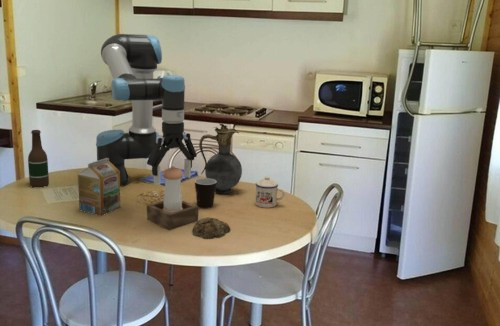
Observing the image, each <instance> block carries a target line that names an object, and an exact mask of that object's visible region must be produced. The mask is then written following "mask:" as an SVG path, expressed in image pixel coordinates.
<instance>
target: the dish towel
mask: <svg viewBox="0 0 500 326" xmlns="http://www.w3.org/2000/svg"><path fill="white" fill-rule="evenodd" d="M178 169H180V170H181V171H182V172H183V176H182V178H181V183H183V182H186V181H188V180H190V179H194V178H196V177H199V172H198V171H197V170H191V178H188V177H185V176H184V168H179V167H178ZM163 172H164V170H162V171H160V185H159V186H162V187H165V178H164V177H163ZM139 181H141V182H144V183H149V184H153V185H157V184H154V175H152V174H150V175H148V176H144V177H142V178H139ZM157 186H158V185H157Z"/></svg>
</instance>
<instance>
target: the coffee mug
mask: <svg viewBox="0 0 500 326" xmlns="http://www.w3.org/2000/svg"><path fill="white" fill-rule="evenodd" d="M216 183H217V181H216V180H214V179H209V178H206V177H205V178H204V177H202V178H201V177H200V178H198V179H195V180H194V189H195V196H196V198H195V199H196V200H195V201H196V206H198V208H199V209H200V208H201V209H210V208H213V207H214V203H215V196H216V192H215V190H216Z"/></svg>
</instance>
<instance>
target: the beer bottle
mask: <svg viewBox="0 0 500 326" xmlns="http://www.w3.org/2000/svg"><path fill="white" fill-rule="evenodd" d="M41 133H42V131H41V130H40V129H32V130H31V132H30V134H31V150H30V152H29V154H28V157H27V164H28V166H27V167H28V176H29V177H28V178H29V186H30V187H31V186H32V187H31V188H34V187H42V188H45V187H44V186H46V187H48V186H49V183H50V179H49V178H50V177H49V162H48V155H47V153H46V151H45V150H44V148H43V146H42V138H41Z"/></svg>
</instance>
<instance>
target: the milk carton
mask: <svg viewBox="0 0 500 326" xmlns="http://www.w3.org/2000/svg"><path fill="white" fill-rule="evenodd" d="M77 182H78V183H77V186H78V187H77V188H78V205H79V206H78V207H79V211H80V210H82V211H81V212H84V211H85V213H88V212H89V213H88V214H91V213H93V214H92V215H95V214H97V215H96V216H99V215H100V216H101V217H102V216H105V215H107V214H109V213H112V212H114V211H117V210H118V209H120V208H121V207H122V206H121V202H122V201H121V197H122V196H121V187H120V172H119V171H118V169H117V168H116V167H115V166H114V165H113V164H112V163H110V162H109V158H105V159H102V160H98V161H97V160H96V161H92V162H88V163H87V167H86V168H83V169H82V170H80V171H79V173H77ZM116 209H117V210H116ZM111 211H112V212H111ZM106 213H107V214H106ZM104 214H105V215H104ZM100 216H99V217H100Z"/></svg>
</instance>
